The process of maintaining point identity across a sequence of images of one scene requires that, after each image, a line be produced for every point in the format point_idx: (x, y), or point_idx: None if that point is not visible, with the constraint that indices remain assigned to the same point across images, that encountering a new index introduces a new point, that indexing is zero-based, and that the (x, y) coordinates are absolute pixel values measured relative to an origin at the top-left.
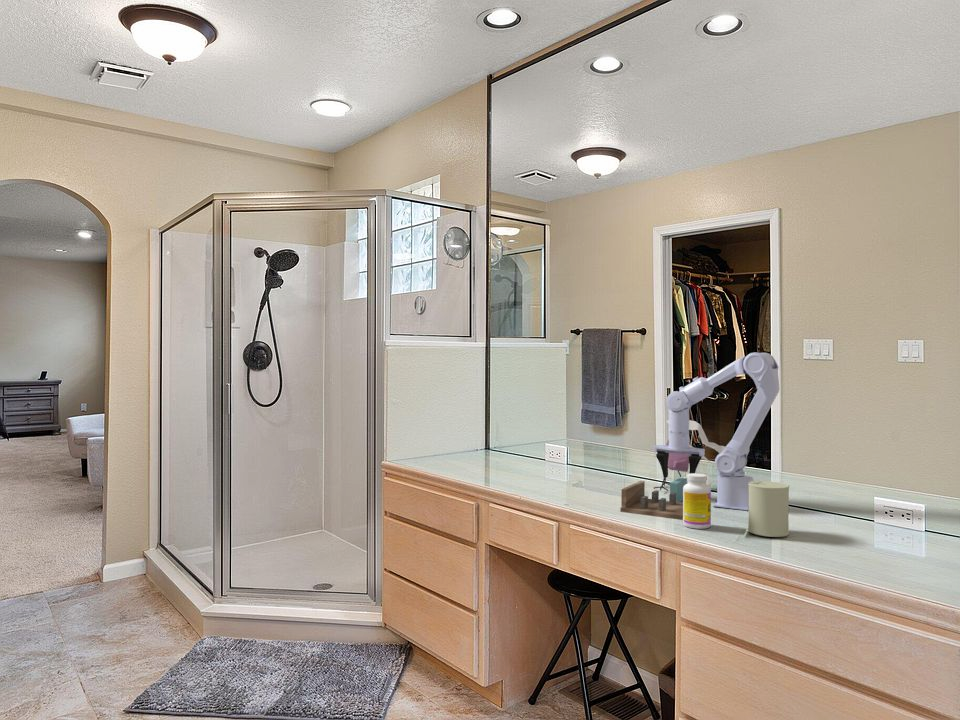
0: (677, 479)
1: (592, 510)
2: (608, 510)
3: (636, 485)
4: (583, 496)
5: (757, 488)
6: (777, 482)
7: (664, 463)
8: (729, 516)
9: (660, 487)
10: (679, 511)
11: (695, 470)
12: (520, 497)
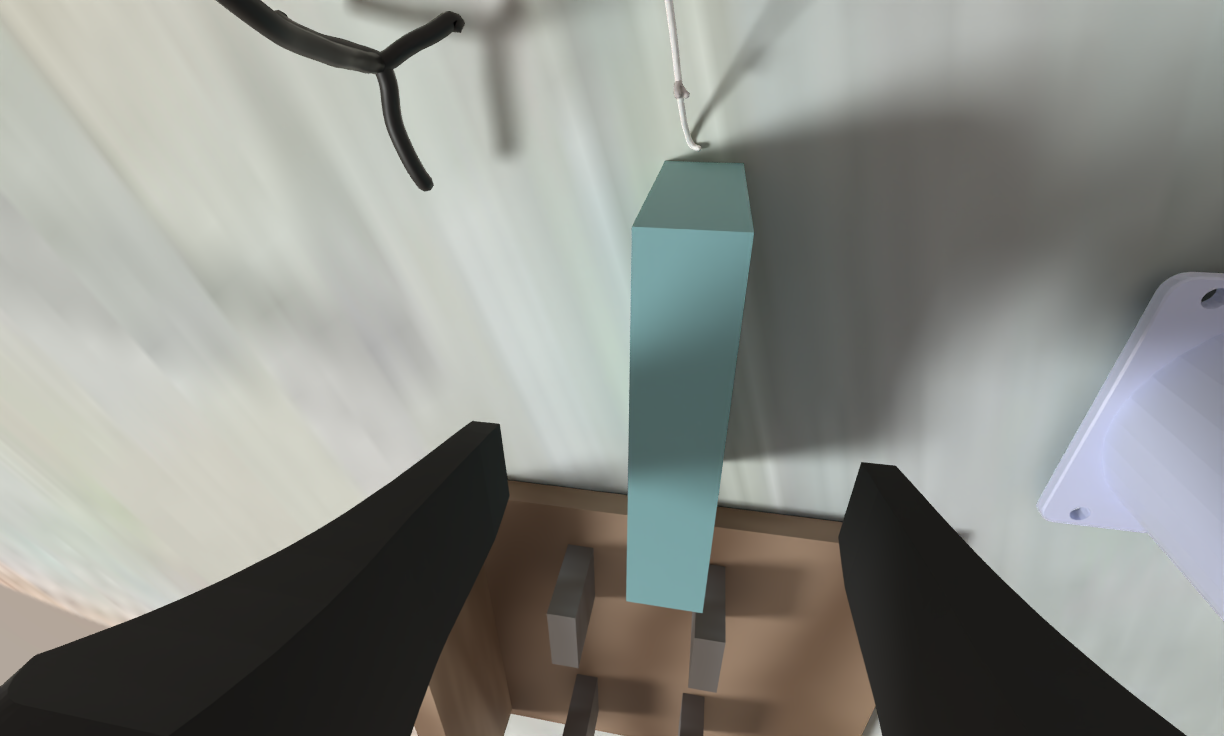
0: (636, 392)
1: None
2: None
3: (446, 728)
4: (128, 477)
5: None
6: None
7: (415, 708)
8: (1127, 662)
9: (386, 126)
10: (789, 719)
11: (990, 583)
12: (14, 588)
